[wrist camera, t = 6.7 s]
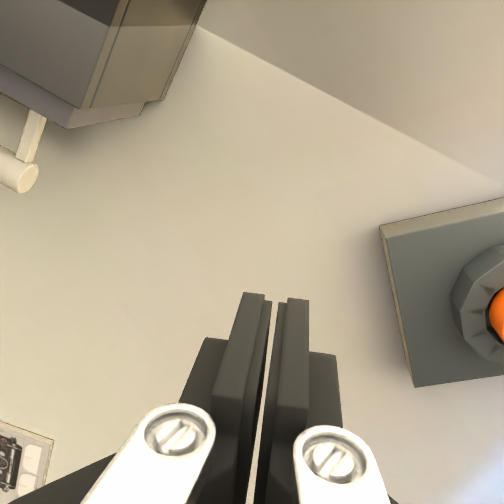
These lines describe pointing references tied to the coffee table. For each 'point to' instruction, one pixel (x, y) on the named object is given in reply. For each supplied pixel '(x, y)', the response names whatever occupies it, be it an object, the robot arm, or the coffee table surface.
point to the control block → (448, 291)
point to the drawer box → (97, 47)
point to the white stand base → (22, 462)
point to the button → (497, 314)
